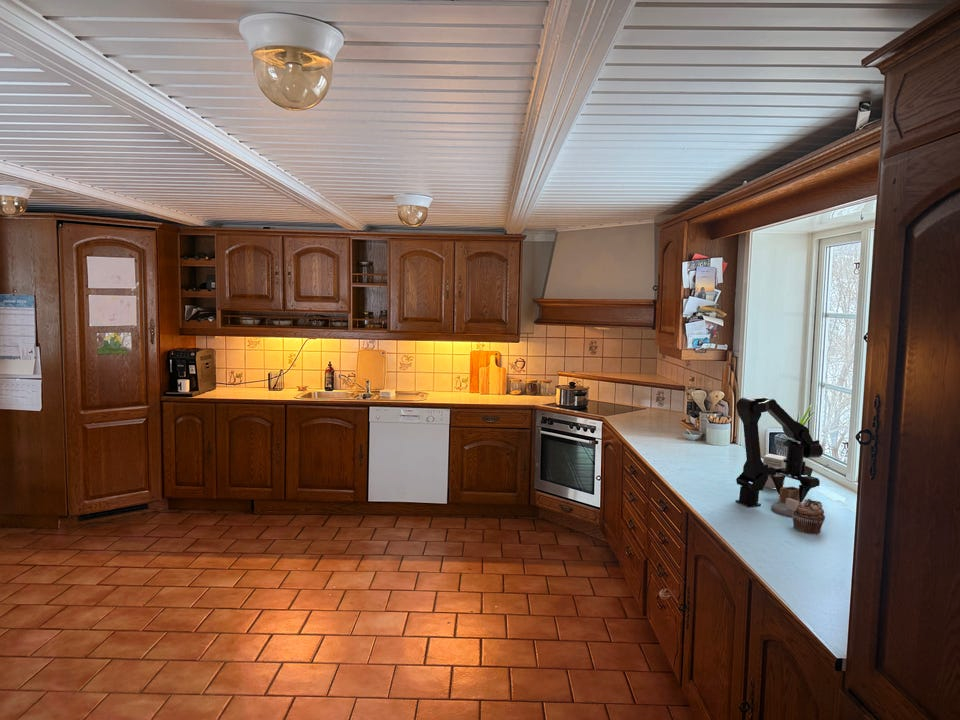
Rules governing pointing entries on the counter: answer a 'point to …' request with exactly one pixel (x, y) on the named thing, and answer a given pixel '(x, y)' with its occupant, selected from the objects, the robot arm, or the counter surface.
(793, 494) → the walnut sleeve
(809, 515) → the cupcake
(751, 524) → the counter surface
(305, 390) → the counter surface
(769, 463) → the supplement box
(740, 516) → the counter surface
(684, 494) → the counter surface
